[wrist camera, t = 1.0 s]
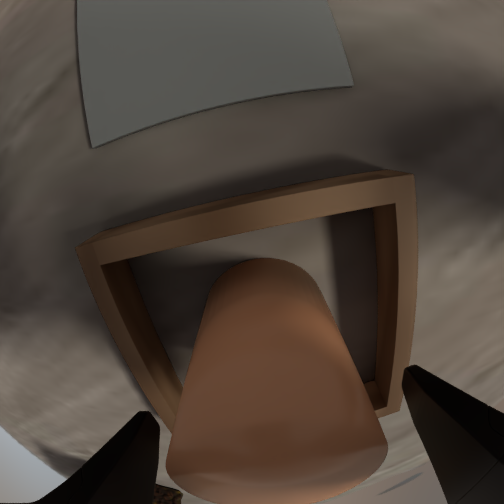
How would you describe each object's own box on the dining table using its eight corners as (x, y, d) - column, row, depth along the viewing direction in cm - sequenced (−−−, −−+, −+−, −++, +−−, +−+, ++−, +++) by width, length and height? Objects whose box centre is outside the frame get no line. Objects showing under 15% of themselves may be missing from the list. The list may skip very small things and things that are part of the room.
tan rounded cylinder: (315, 246, 13) (404, 388, 5) (329, 370, 16) (368, 502, 7) (190, 271, 13) (123, 428, 5) (231, 388, 16) (224, 523, 8)
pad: (295, -61, 7) (296, -65, 7) (351, 87, 11) (354, 85, 10) (80, -5, 8) (77, -7, 8) (96, 148, 11) (92, 148, 11)
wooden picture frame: (386, 169, 12) (413, 174, 9) (386, 385, 16) (399, 410, 14) (100, 231, 13) (74, 247, 10) (188, 421, 17) (182, 448, 15)
